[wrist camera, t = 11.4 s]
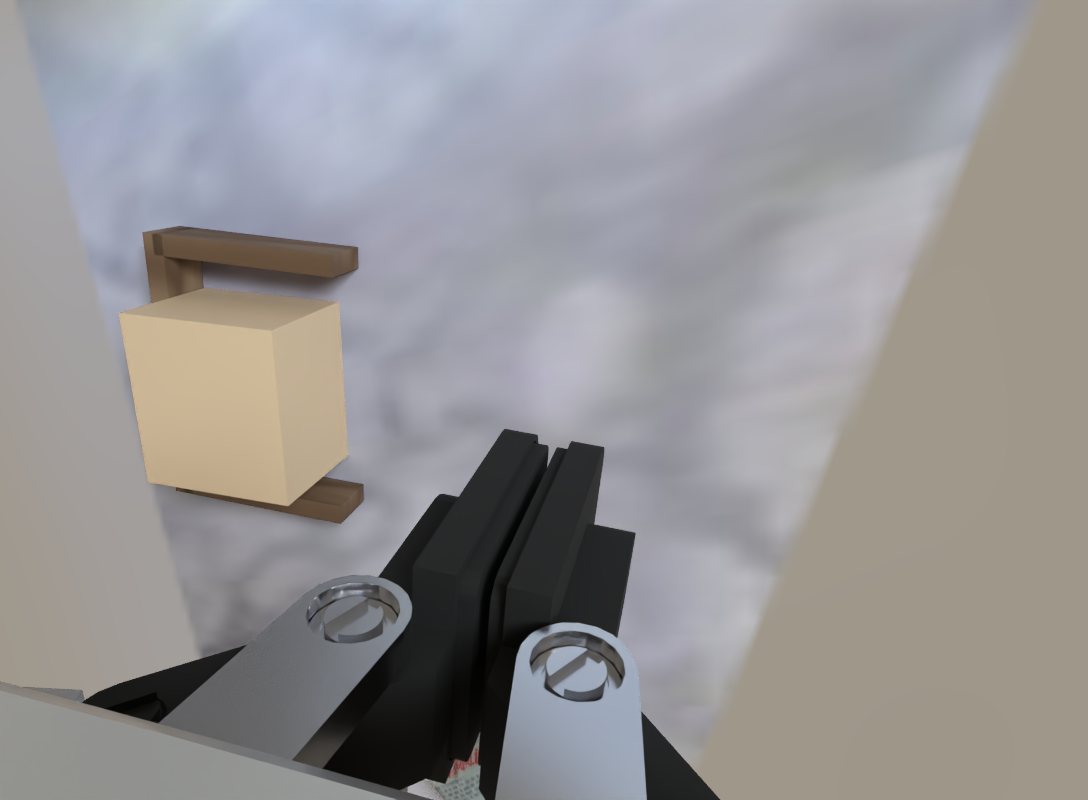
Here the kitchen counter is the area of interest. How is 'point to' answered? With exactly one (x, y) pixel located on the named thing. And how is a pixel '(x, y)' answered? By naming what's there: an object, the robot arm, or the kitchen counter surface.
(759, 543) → the kitchen counter surface
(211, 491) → the carton
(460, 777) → the packaged food
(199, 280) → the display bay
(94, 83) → the kitchen counter surface
